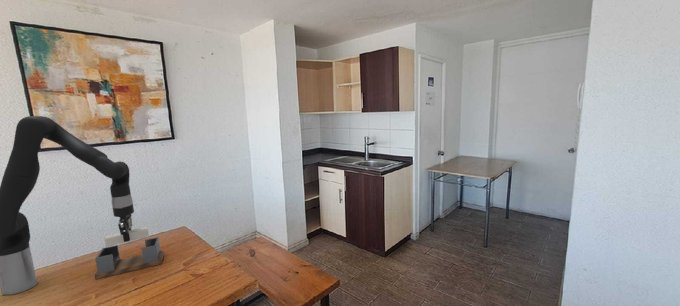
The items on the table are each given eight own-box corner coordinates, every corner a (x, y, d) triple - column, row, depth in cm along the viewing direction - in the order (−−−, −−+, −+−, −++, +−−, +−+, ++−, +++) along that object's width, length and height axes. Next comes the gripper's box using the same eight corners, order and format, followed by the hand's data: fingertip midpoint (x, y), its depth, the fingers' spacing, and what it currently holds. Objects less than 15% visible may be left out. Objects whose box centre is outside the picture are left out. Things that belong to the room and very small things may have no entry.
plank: (95, 279, 121) (94, 275, 121) (102, 267, 131) (101, 263, 131) (161, 263, 133) (161, 259, 132) (163, 253, 142) (163, 249, 142)
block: (106, 247, 123) (104, 239, 123) (106, 244, 127) (105, 236, 126) (148, 236, 133) (147, 228, 133) (148, 233, 136) (147, 226, 136)
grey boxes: (98, 274, 122) (95, 258, 121) (104, 262, 131) (102, 248, 130) (158, 260, 132) (156, 245, 131) (160, 250, 141) (158, 237, 140)
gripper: (116, 201, 132) (121, 235, 134) (108, 211, 119) (114, 247, 122) (135, 199, 135) (140, 231, 138) (129, 207, 123) (134, 243, 125)
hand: (128, 238), depth 130 cm, fingers closed on block, 4 cm apart
